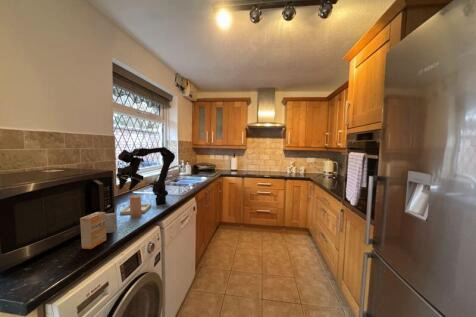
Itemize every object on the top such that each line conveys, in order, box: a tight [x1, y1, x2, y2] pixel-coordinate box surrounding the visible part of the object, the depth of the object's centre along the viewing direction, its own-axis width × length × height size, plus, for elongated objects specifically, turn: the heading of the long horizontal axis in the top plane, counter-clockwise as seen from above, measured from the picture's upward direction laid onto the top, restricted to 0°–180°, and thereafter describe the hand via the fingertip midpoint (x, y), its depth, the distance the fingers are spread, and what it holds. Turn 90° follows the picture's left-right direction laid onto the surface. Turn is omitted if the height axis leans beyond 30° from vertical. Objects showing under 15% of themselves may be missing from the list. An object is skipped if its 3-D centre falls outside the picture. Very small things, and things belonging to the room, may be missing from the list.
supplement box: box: [79, 211, 107, 250], centre depth 86 cm, size 8×5×13 cm, turn 172°
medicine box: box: [105, 212, 118, 234], centre depth 99 cm, size 8×4×9 cm, turn 108°
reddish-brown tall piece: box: [129, 195, 143, 220], centre depth 119 cm, size 6×6×12 cm
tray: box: [119, 203, 152, 216], centre depth 132 cm, size 15×15×2 cm
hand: (124, 189), depth 121 cm, fingers open, 9 cm apart
